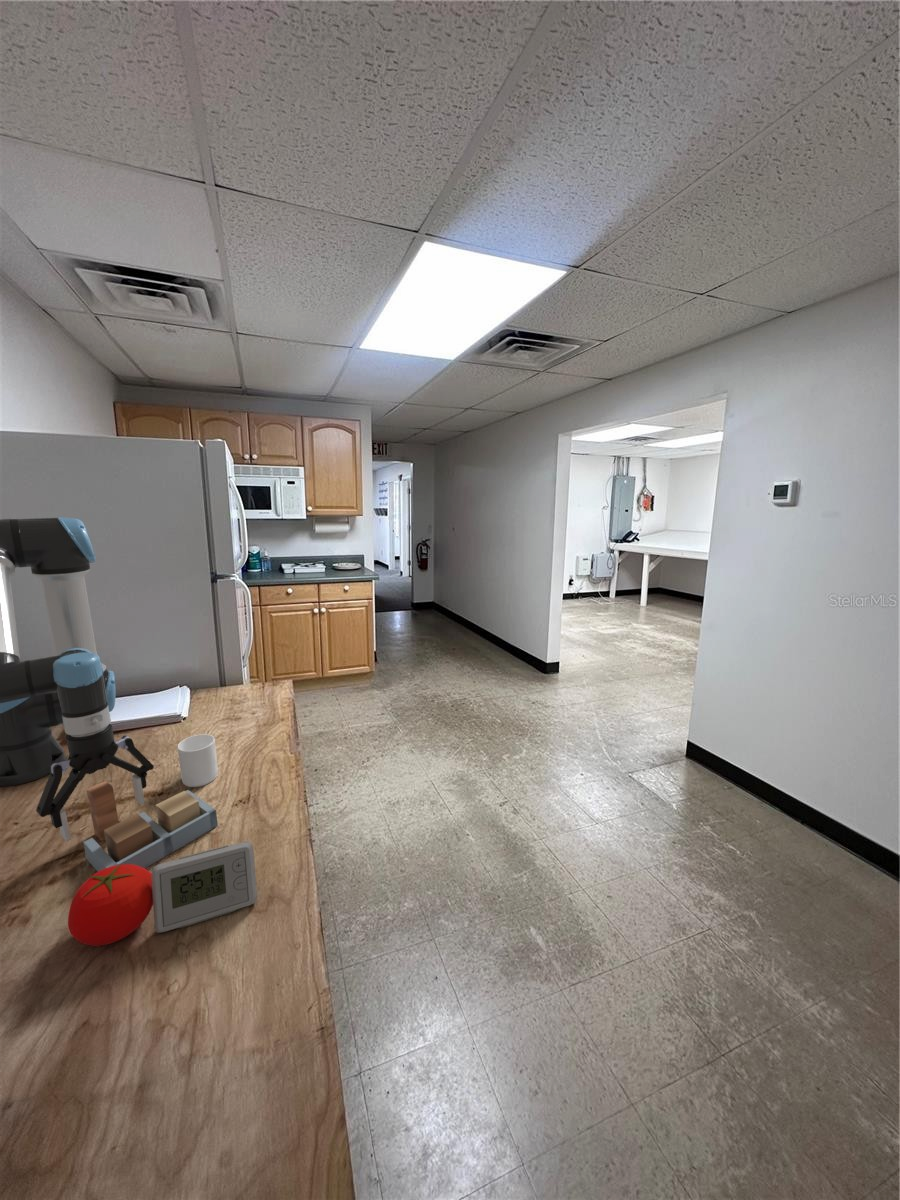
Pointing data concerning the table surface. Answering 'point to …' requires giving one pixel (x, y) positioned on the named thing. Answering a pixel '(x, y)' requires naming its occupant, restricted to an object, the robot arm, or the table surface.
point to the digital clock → (203, 886)
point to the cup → (198, 760)
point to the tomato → (111, 904)
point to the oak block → (177, 811)
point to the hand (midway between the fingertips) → (105, 819)
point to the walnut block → (116, 824)
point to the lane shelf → (156, 840)
